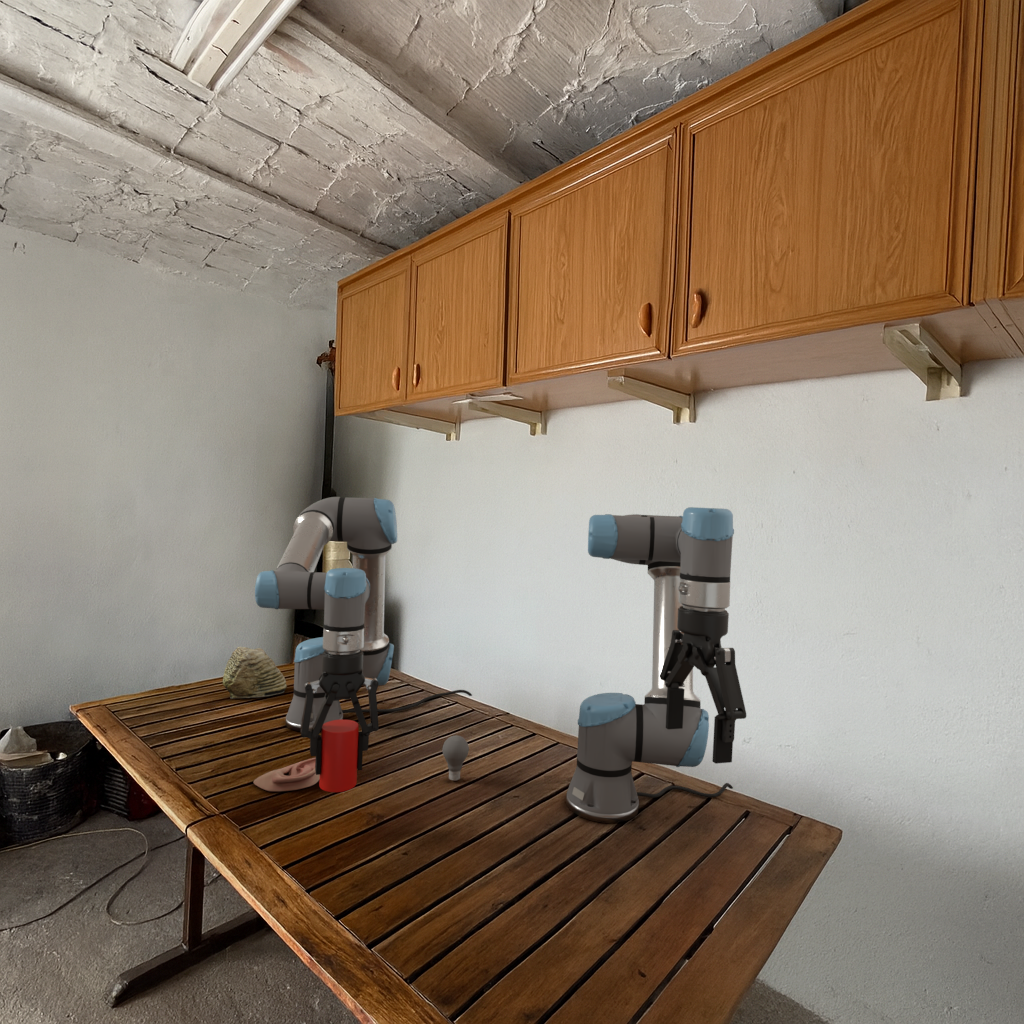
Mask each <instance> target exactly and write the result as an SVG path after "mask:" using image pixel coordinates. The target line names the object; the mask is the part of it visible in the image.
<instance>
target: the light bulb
mask: <svg viewBox="0 0 1024 1024" xmlns="http://www.w3.org/2000/svg"><path fill="white" fill-rule="evenodd" d="M469 752H470V746H469V743H468V742H467V740H466V739H465V738H464V737H463V736H461V735H457V734H456V735H455V734H454V735H451V736H449V737H448V738H447V739H446V740H445V741H444V743H443V745H442V755H443V757H444V760H445V761H446V764H447V769H448V779H449V780H450V781H453V782H456V781H458V780H460V779H461V770H462V768H463V764H464V762H465V760H466V759H467V758H468V756H469Z"/></svg>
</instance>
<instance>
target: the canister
mask: <svg viewBox="0 0 1024 1024" xmlns="http://www.w3.org/2000/svg"><path fill="white" fill-rule="evenodd" d="M359 731H360V724H359V722H357V721H355V720H351V719H343V720H333V721H329V722H326V723H324V724H323V726H322V728H321V731H320V735H321V739H322V744H321V771H320V778H319V781H318V786H319V788H320V790H322V791H324V792H327V793H342V792H346V791H349V790H351V789H354V788H355V787H356V785H357V782H358V769H357V762H358V736H359Z"/></svg>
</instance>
